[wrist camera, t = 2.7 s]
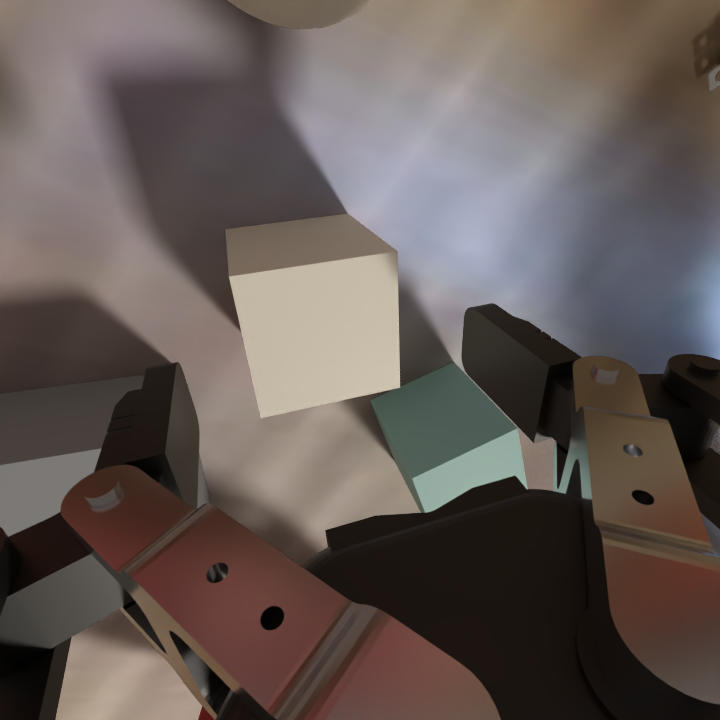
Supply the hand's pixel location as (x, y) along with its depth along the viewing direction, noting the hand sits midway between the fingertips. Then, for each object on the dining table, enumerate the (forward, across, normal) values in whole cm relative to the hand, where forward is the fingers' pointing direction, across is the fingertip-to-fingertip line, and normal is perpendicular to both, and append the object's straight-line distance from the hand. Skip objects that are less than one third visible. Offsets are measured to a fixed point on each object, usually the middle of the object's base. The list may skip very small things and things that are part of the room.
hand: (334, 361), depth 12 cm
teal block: (+8, -6, +9) cm, 14 cm away
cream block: (+8, 0, 0) cm, 8 cm away
